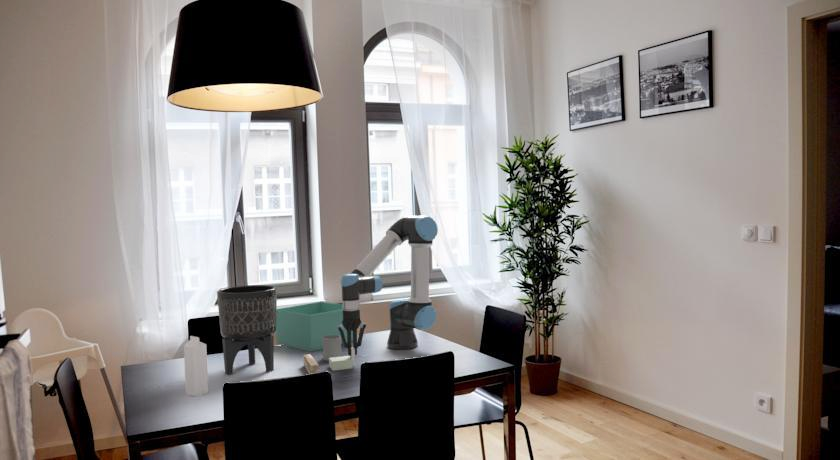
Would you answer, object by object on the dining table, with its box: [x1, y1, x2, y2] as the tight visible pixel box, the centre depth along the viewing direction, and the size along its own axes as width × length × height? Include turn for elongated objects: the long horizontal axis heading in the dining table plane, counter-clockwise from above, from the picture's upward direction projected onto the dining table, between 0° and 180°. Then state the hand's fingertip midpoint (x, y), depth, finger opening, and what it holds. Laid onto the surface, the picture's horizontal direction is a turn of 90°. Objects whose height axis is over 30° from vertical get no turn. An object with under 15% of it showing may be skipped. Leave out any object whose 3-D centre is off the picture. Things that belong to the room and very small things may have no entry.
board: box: [302, 353, 320, 375], centre depth 263 cm, size 3×20×5 cm, turn 20°
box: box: [275, 301, 353, 352], centre depth 320 cm, size 30×30×18 cm
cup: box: [322, 335, 342, 362], centre depth 284 cm, size 8×8×10 cm
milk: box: [183, 335, 209, 397], centre depth 236 cm, size 6×6×22 cm
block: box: [328, 355, 354, 372], centre depth 268 cm, size 9×7×4 cm
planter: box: [216, 284, 278, 376], centre depth 268 cm, size 25×25×36 cm
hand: (352, 362), depth 269 cm, fingers closed
